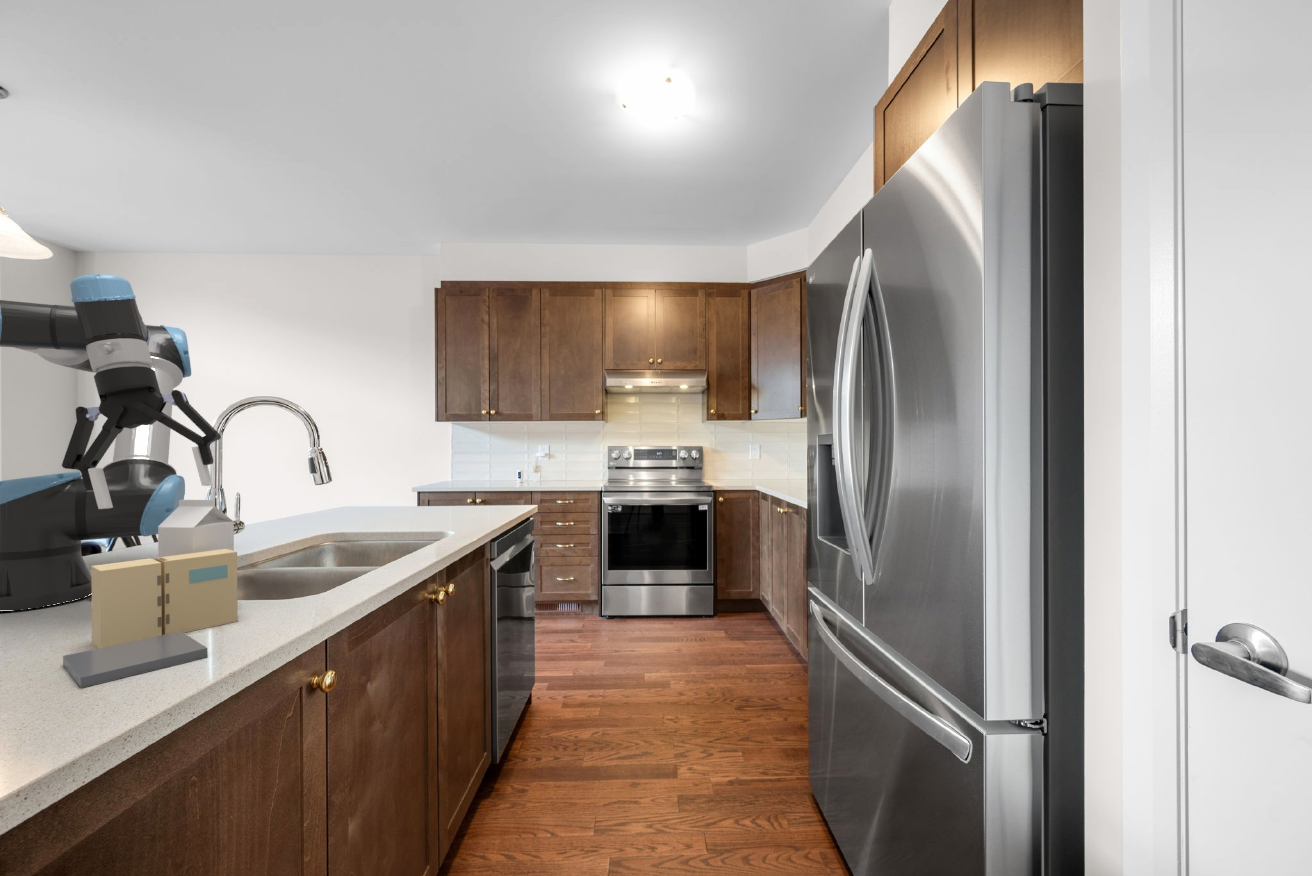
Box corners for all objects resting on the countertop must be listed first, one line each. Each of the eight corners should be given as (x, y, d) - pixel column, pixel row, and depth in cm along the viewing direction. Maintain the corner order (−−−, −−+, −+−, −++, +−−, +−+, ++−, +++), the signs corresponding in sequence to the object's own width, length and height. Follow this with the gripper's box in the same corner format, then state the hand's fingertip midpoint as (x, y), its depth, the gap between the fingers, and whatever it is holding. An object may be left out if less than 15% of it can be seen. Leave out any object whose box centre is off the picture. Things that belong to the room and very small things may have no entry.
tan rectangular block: (92, 643, 83) (91, 565, 83) (151, 631, 89) (150, 558, 89) (100, 651, 80) (100, 571, 80) (161, 638, 85) (161, 562, 85)
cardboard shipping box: (156, 630, 89) (155, 557, 89) (226, 615, 96) (226, 548, 96) (165, 636, 86) (164, 561, 86) (237, 621, 93) (237, 551, 93)
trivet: (63, 665, 75) (63, 655, 75) (180, 639, 84) (180, 631, 84) (80, 688, 67) (80, 677, 67) (207, 657, 77) (207, 648, 77)
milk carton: (194, 621, 93) (193, 502, 93) (158, 619, 94) (157, 501, 94) (234, 609, 100) (233, 497, 100) (200, 607, 101) (199, 497, 101)
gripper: (8, 382, 87) (45, 519, 87) (206, 351, 97) (240, 475, 97) (39, 390, 94) (73, 518, 94) (221, 361, 103) (252, 476, 104)
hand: (158, 496), depth 95 cm, fingers open, 13 cm apart
